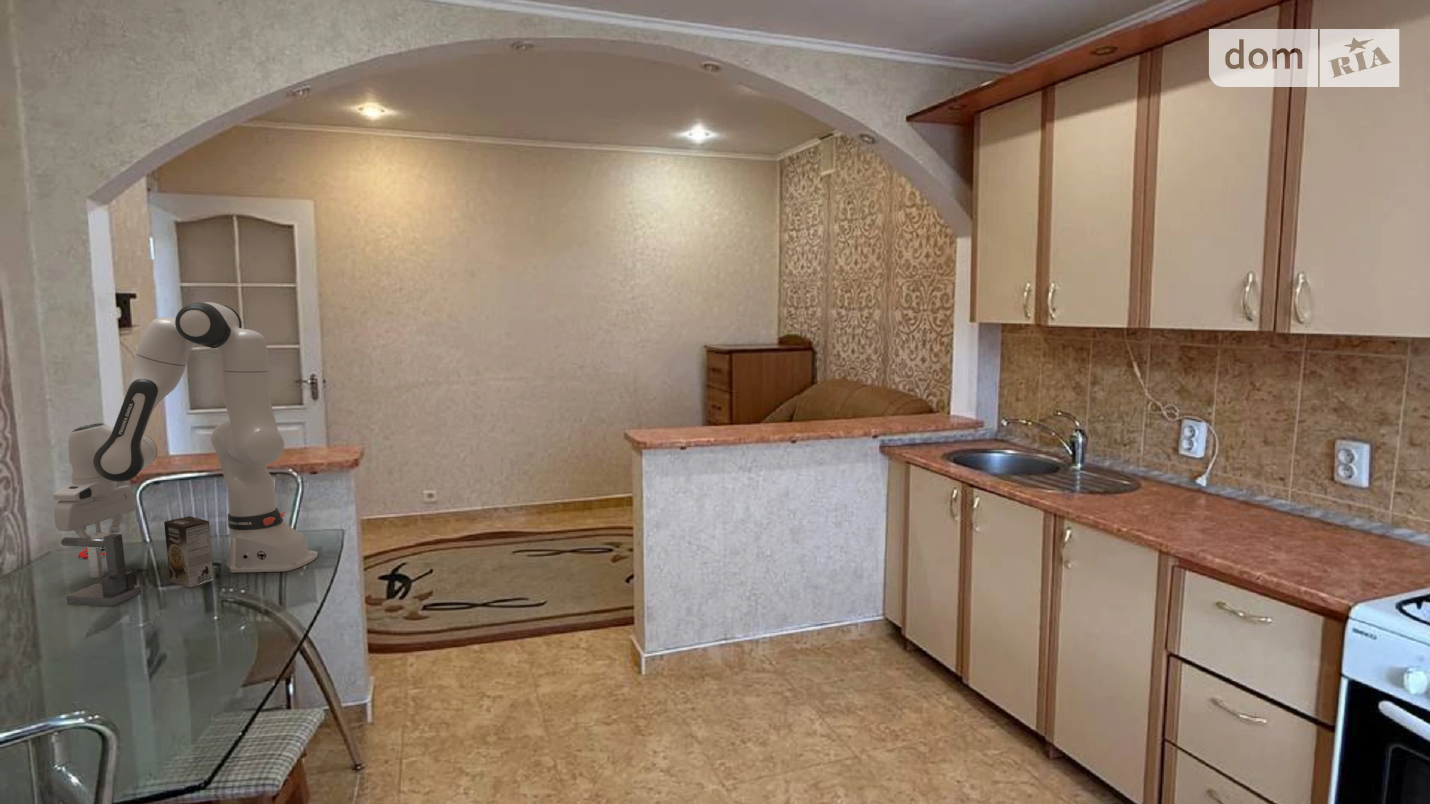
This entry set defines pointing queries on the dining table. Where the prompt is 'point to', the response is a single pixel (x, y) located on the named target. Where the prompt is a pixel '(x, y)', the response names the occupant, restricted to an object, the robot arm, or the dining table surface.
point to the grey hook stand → (118, 580)
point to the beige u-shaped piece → (96, 557)
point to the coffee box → (188, 550)
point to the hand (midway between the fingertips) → (100, 537)
